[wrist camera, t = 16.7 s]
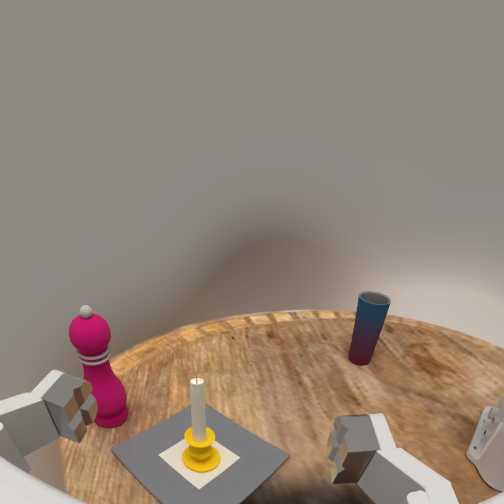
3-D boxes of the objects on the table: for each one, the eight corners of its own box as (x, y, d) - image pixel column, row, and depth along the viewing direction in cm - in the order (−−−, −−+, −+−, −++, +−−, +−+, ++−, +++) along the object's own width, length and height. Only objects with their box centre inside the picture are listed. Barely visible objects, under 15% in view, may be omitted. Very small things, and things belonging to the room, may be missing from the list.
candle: (179, 447, 35) (169, 364, 31) (215, 442, 37) (215, 360, 33) (186, 475, 31) (175, 395, 27) (224, 469, 32) (227, 389, 28)
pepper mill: (139, 411, 42) (122, 303, 37) (112, 437, 35) (82, 324, 30) (107, 394, 44) (87, 290, 39) (80, 416, 38) (49, 307, 32)
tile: (200, 402, 46) (200, 399, 46) (289, 457, 36) (290, 454, 36) (111, 451, 33) (110, 448, 32) (200, 536, 22) (200, 534, 22)
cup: (340, 361, 61) (354, 298, 57) (350, 347, 66) (364, 288, 62) (368, 371, 57) (387, 307, 53) (376, 356, 62) (393, 296, 58)
